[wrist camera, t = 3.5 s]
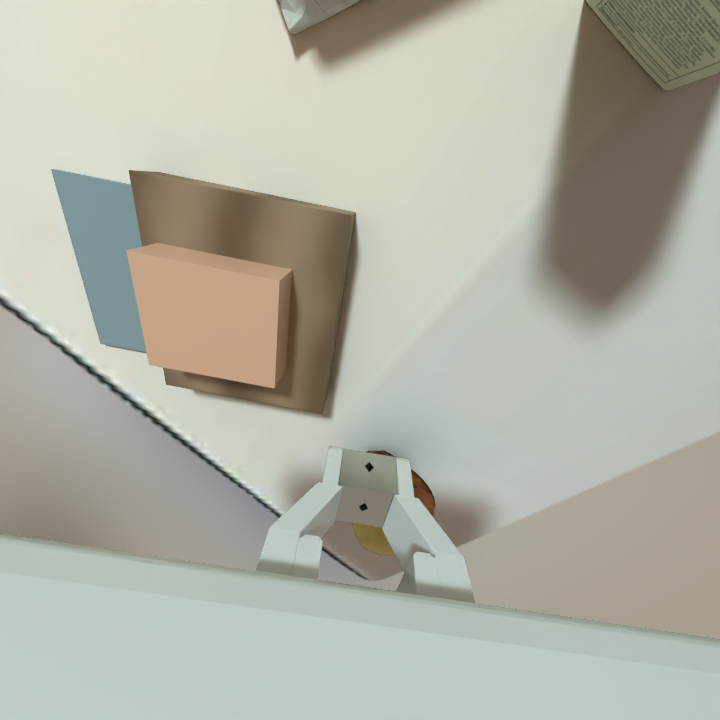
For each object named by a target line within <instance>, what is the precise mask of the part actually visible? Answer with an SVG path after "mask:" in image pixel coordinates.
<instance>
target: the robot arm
mask: <svg viewBox="0 0 720 720" xmlns="http://www.w3.org/2000/svg"><path fill="white" fill-rule="evenodd" d="M335 520H336V521H343V522H351V523H359V524H364V525H370V526H375V527H380V528H382V530H383V532H384V534H385V536H386V538H387V540H388V542H389V544H390V546H391V548H392V550H393V552H394V554H395V556H396V558H397V560H398V562H399V564H400V566H401V567H402V569H403V571H404V573H405V574H404V576H403V578H402V580H401V582H400V584H399V586H398V588H397V590H396V591H390V590H383V589H376V588H369V587H362V586H355V585H349V584H342V583H335V582H327V581H321V580H317V577H318V570H319V563H320V555H321V549H322V542H323V541H322V540H321V539H322V538H323V537H324V535H325V534H326V533H327V531H328V530H329V529H330V528H331V526H332V525H333V524H334V522H335ZM0 720H720V639H715V638H708V637H701V636H695V635H688V634H681V633H674V632H667V631H661V630H654V629H647V628H640V627H634V626H627V625H620V624H613V623H607V622H600V621H593V620H586V619H579V618H573V617H566V616H559V615H552V614H545V613H538V612H532V611H525V610H518V609H511V608H505V607H498V606H490V605H484V604H477V603H475V601H474V597H473V592H472V588H471V584H470V580H469V576H468V572H467V567H466V563H465V559H464V557H463V556H462V554H461V553H460V552H459V551H458V549H457V548H456V546H455V545H454V544H453V543H452V541H451V540H450V539H449V537H448V536H447V535H446V533H445V532H444V531H443V530H442V528H441V527H440V526H439V524H438V523H437V522H436V520H435V519H434V518H433V517H432V515H431V514H430V513H429V511H428V510H427V509H426V507H425V506H424V505H423V503H422V502H421V501H420V500H419V498H415V497H414V489H413V482H412V474H411V466H410V461H409V459H404V458H398V457H392V456H385V455H379V454H373V453H366V452H360V451H355V450H350V449H345V448H338V447H333V446H329V449H328V454H327V459H326V465H325V470H324V475H323V481H322V483H321V482H318V483H317V484H315V485H314V486H313V487H312V488H311V489H310V490H309V491H308V492H307V493H306V494H305V495H304V496H303V497H302V498H301V499H300V500H298V501H297V502H296V503H295V504H294V505H293V506H292V507H291V508H290V509H289V510H288V511H287V512H286V513H285V514H284V515H283V516H281V517H280V518H279V519H278V520H277V521H276V522H275V523H274V524H273V525H272V526H271V527H270V529H269V532H268V535H267V538H266V541H265V544H264V547H263V550H262V553H261V556H260V560H259V563H258V566H257V569H256V571H253V570H247V569H240V568H233V567H226V566H220V565H213V564H206V563H199V562H193V561H186V560H178V559H172V558H166V557H159V556H152V555H145V554H139V553H132V552H125V551H118V550H111V549H105V548H98V547H92V546H85V545H78V544H71V543H65V542H57V541H51V540H44V539H38V538H31V537H23V536H17V535H10V534H4V533H0Z"/></svg>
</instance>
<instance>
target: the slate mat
mask: <svg viewBox="0 0 720 720" xmlns="http://www.w3.org/2000/svg"><path fill="white" fill-rule="evenodd" d="M51 170H52V174H53V178H54V181H55V185H56V188H57V192H58V195H59V199H60V202H61V206H62V209H63V213H64V216H65V220H66V223H67V227H68V231H69V234H70V238H71V241H72V245H73V248H74V252H75V255H76V259H77V262H78V266H79V269H80V273H81V276H82V280H83V283H84V287H85V291H86V294H87V298H88V301H89V305H90V308H91V312H92V315H93V319H94V322H95V326H96V329H97V333H98V336H99V340H100V344H105V345H110V346H115V347H121V348H126V349H131V350H136V351H142V352H147V351H146V346H145V341H144V336H143V331H142V326H141V321H140V316H139V311H138V306H137V301H136V296H135V291H134V286H133V281H132V276H131V271H130V266H129V261H128V256H127V252H126V250H130V249H134V248H139V247H142V243H141V238H140V232H139V226H138V220H137V215H136V209H135V203H134V197H133V192H132V186H131V185H129V184H125V183H120V182H115V181H110V180H105V179H100V178H95V177H90V176H85V175H80V174H75V173H70V172H65V171H60V170H55V169H51Z"/></svg>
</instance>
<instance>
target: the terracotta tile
mask: <svg viewBox="0 0 720 720" xmlns="http://www.w3.org/2000/svg"><path fill="white" fill-rule="evenodd" d="M126 252H127V256H128V261H129V266H130V271H131V276H132V281H133V286H134V291H135V296H136V301H137V306H138V311H139V316H140V321H141V326H142V331H143V336H144V341H145V346H146V351H147V356H148V361H149V365H153V366H158V367H164V368H169V369H174V370H180V371H185V372H190V373H195V374H201V375H206V376H211V377H217V378H222V379H227V380H232V381H238V382H243V383H248V384H254V385H259V386H264V387H269V388H275V387H276V385H277V383H278V382H279V380H280V378H281V376H282V374H283V373H284V371H285V369H286V358H287V343H288V328H289V313H290V297H291V282H292V269H287V268H282V267H277V266H272V265H267V264H262V263H257V262H252V261H247V260H242V259H237V258H232V257H227V256H221V255H216V254H211V253H206V252H201V251H196V250H191V249H186V248H181V247H176V246H171V245H166V244H161V243H155V244H151V245H147V246H143V247H139V248H134V249H130V250H126Z"/></svg>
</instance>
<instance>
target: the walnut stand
mask: <svg viewBox="0 0 720 720" xmlns="http://www.w3.org/2000/svg"><path fill="white" fill-rule="evenodd" d="M129 174H130V180H131V186H132V192H133V197H134V203H135V209H136V215H137V220H138V226H139V232H140V238H141V243H142V247H143V246H147V245H151V244H155V243H161V244H166V245H171V246H176V247H181V248H186V249H191V250H196V251H201V252H206V253H211V254H216V255H221V256H227V257H232V258H237V259H242V260H247V261H252V262H257V263H262V264H267V265H272V266H277V267H282V268H287V269H292V282H291V297H290V313H289V328H288V343H287V358H286V369H285V371H284V373H283V374H282V376H281V378H280V380H279V382H278V383H277V385H276V387H275V388H269V387H264V386H259V385H254V384H248V383H243V382H238V381H232V380H227V379H222V378H217V377H211V376H206V375H201V374H195V373H190V372H185V371H180V370H174V369H169V368H164V367H163V370H164V375H165V381H166V385H171V386H177V387H182V388H187V389H193V390H198V391H203V392H209V393H214V394H219V395H225V396H230V397H235V398H241V399H246V400H251V401H257V402H262V403H267V404H273V405H278V406H283V407H289V408H294V409H299V410H304V411H310V412H315V413H320V414H322V412H323V408H324V405H325V401H326V398H327V394H328V388H329V381H330V375H331V368H332V362H333V355H334V349H335V342H336V336H337V329H338V323H339V316H340V310H341V303H342V297H343V290H344V284H345V277H346V271H347V264H348V258H349V252H350V245H351V239H352V232H353V226H354V219H355V213H356V212H351V211H346V210H341V209H336V208H332V207H327V206H322V205H317V204H312V203H307V202H302V201H297V200H292V199H288V198H283V197H278V196H273V195H268V194H263V193H258V192H253V191H248V190H243V189H239V188H234V187H229V186H224V185H219V184H214V183H209V182H204V181H199V180H195V179H190V178H185V177H180V176H175V175H170V174H165V173H160V172H148V171H133V170H129Z"/></svg>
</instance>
